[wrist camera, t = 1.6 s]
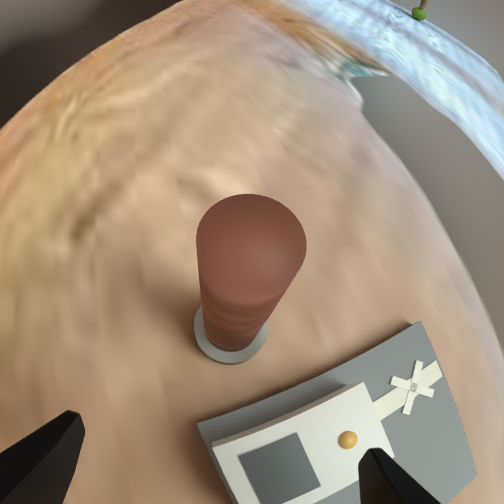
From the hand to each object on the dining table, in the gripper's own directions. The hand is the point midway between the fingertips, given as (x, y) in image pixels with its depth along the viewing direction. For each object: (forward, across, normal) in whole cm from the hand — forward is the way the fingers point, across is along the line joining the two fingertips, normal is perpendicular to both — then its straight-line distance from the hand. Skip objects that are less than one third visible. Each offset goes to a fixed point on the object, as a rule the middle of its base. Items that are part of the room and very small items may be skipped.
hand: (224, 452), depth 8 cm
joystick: (+14, 0, +4) cm, 14 cm away
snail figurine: (+91, -50, -72) cm, 127 cm away
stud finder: (+7, -6, +9) cm, 13 cm away
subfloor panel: (+7, -11, +11) cm, 17 cm away
